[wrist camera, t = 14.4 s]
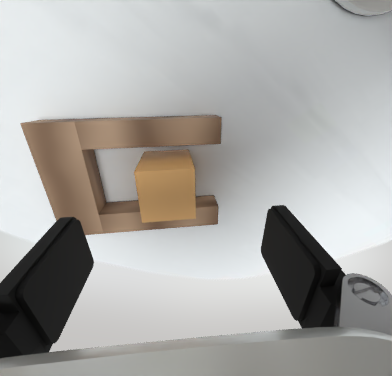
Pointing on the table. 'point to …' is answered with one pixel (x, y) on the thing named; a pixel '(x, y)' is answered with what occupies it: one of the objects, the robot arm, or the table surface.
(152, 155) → the orange-brown rectangular block
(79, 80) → the table surface
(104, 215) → the notched board
